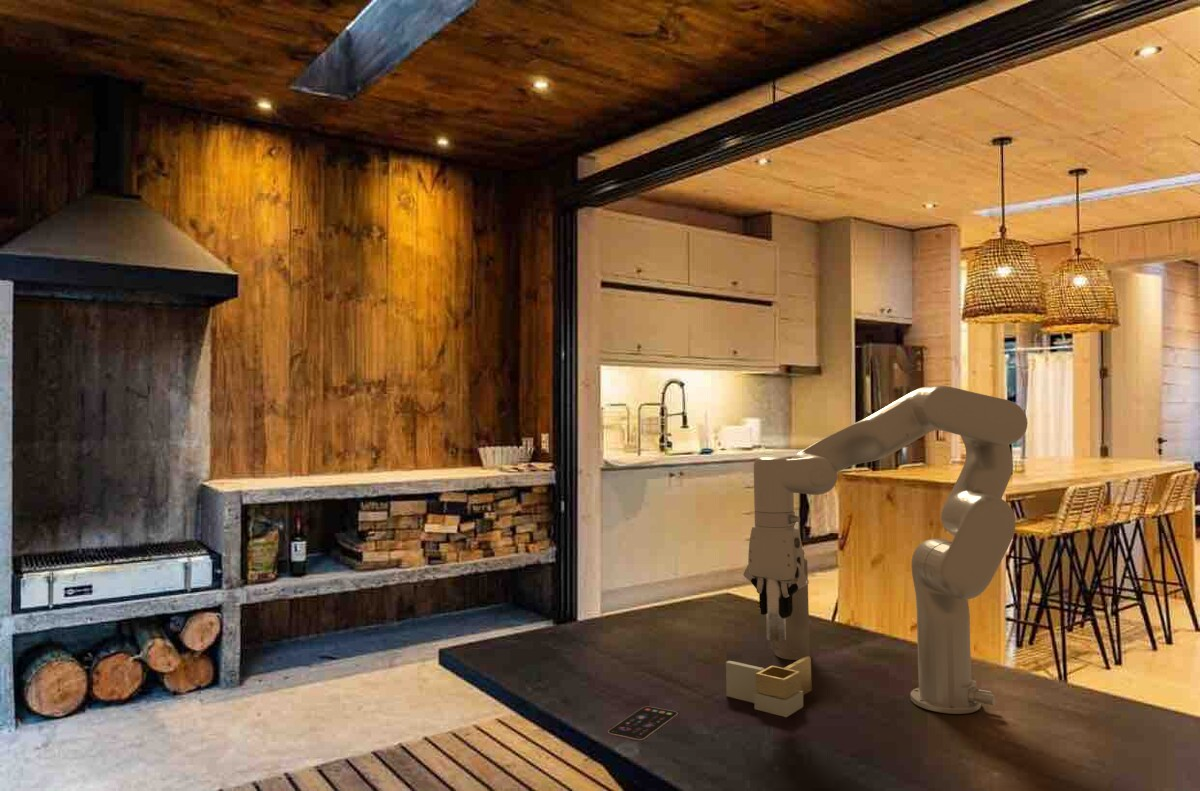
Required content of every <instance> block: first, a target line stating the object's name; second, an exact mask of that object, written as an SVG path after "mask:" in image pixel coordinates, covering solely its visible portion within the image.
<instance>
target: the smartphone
mask: <svg viewBox="0 0 1200 791" xmlns="http://www.w3.org/2000/svg"><path fill="white" fill-rule="evenodd" d="M678 714H679V713H678V712H677V711H675V710H670V709H664V708H659V707H655V706H643V707H641V708H640V709H638V710H637V711H635V712H633V713H632V714H630V715H628V716H627V717H626V718H625V719H624V720H621V721H620V722H618V723H617V724H616V725H614V726H612V727H611V728H610V729H609V730H608V731H607V734H609V735H611V736H616V737H620V738H625V739H629V740H634V741H645V740H646V739H647V738H649V737H650V736H651V735H653V734H655V733H656V732H657V731H658V730H659V729H661V728H662V727H663V726H665V725H666V724H668V723H669V722H671V721H672V720H673V719H674V718H675V717H677V716H678Z"/></svg>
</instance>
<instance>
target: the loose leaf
mask: <svg viewBox="0 0 1200 791" xmlns="http://www.w3.org/2000/svg"><path fill="white" fill-rule="evenodd" d="M764 669H765V668H764V667H760V666H757V665H751V664H748V663H742V662H738V661H734V660H733V661H732V660H727V661H726V662H725V677H726V678H725V680H726V684H725V685H726V689H725V690H726V697H729V698H732V699H737V700H740V701H744V702H748V703H752V704H754V707H753V708H754V710H757V711H761V712H765V713H767V714H772V715H776V716H781V717H783V718H787V717H789V716H791V715H793V714H794V713H796V712H797V711H799V710H800V709H802V708H804V695H803V691H800V690H799V691H798V692H796V693H794V694H793V695H791V696H789V697H787V698H786V699H784V698H780V697H776V696H772V695H768V694H764V693H759V692H756V673H758V672H760V671H762V670H764Z"/></svg>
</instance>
